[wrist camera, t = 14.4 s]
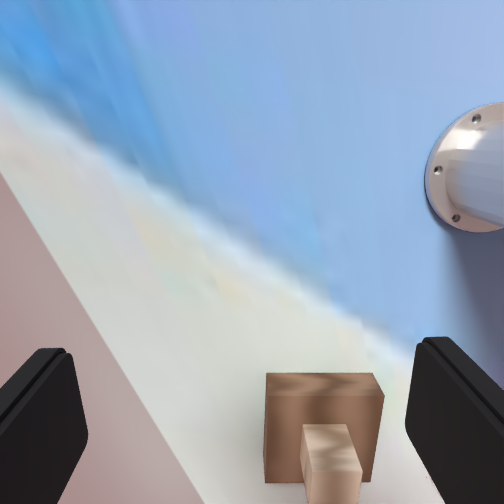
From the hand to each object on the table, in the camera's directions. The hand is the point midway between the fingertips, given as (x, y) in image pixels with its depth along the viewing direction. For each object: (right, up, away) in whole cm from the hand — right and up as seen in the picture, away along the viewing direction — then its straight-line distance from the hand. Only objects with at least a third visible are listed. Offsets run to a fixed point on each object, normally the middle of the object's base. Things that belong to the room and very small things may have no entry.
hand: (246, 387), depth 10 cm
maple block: (+8, -18, +32) cm, 38 cm away
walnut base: (+8, -17, +36) cm, 40 cm away
